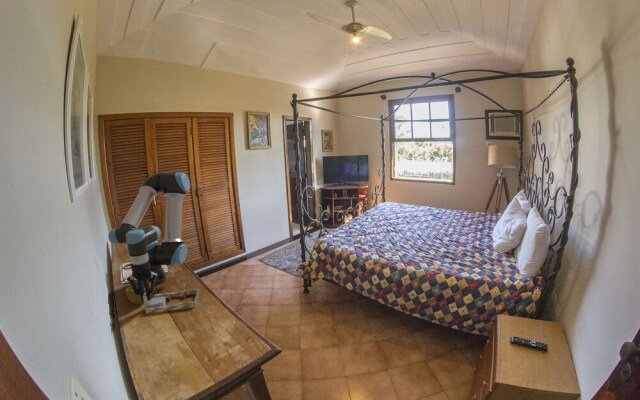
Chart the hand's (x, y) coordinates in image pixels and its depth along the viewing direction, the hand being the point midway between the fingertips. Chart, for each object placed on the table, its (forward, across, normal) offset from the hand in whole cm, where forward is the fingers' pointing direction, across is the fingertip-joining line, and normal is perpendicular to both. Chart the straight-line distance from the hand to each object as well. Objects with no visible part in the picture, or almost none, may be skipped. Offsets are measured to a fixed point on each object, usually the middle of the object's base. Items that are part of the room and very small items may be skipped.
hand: (147, 306), depth 141 cm
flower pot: (+2, -6, +8) cm, 10 cm away
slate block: (+2, +5, 0) cm, 5 cm away
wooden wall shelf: (+1, +12, +2) cm, 12 cm away
